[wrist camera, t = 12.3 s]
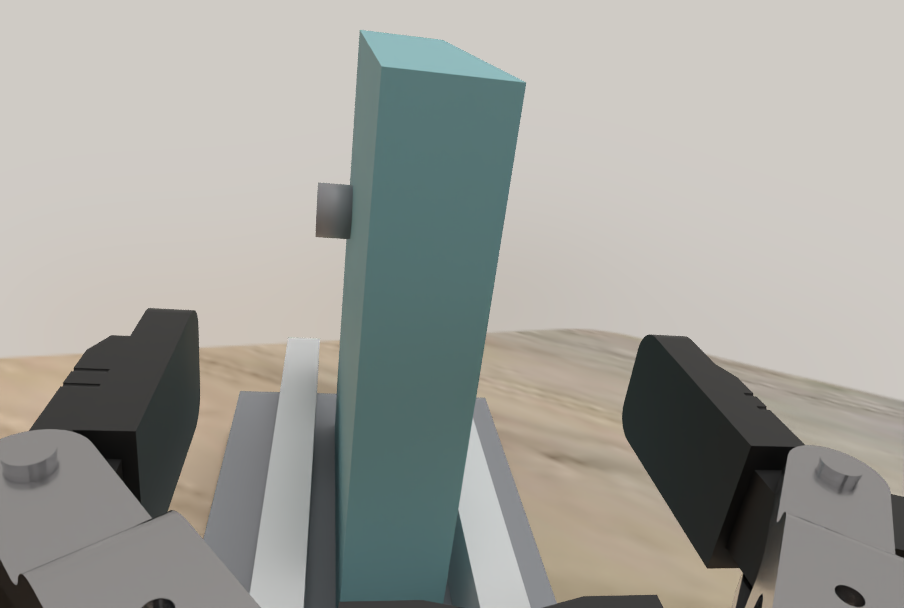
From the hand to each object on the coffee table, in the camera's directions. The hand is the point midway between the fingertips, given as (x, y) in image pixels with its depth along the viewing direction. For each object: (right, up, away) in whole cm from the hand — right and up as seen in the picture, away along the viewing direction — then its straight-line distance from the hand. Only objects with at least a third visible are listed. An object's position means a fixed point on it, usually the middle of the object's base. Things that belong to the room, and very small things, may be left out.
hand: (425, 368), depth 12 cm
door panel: (-2, -6, +9) cm, 11 cm away
